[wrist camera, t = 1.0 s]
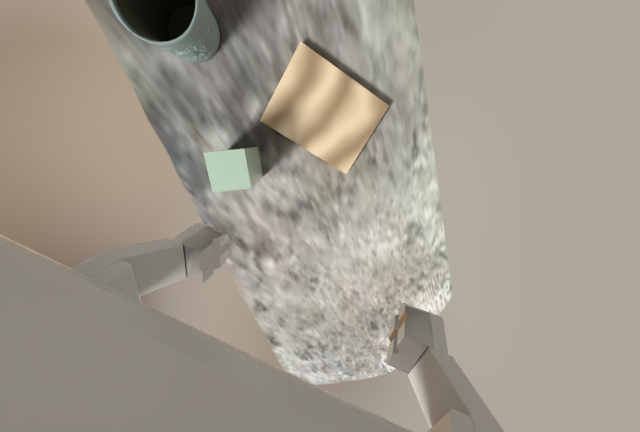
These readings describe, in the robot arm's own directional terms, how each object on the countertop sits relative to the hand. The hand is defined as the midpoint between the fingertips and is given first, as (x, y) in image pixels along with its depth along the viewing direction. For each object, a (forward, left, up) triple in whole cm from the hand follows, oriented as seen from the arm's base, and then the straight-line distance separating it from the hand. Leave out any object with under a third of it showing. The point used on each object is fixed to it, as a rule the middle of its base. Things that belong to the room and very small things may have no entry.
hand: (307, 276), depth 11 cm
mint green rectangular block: (-10, -4, -38) cm, 40 cm away
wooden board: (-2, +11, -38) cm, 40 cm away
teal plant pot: (-26, +10, -38) cm, 47 cm away
